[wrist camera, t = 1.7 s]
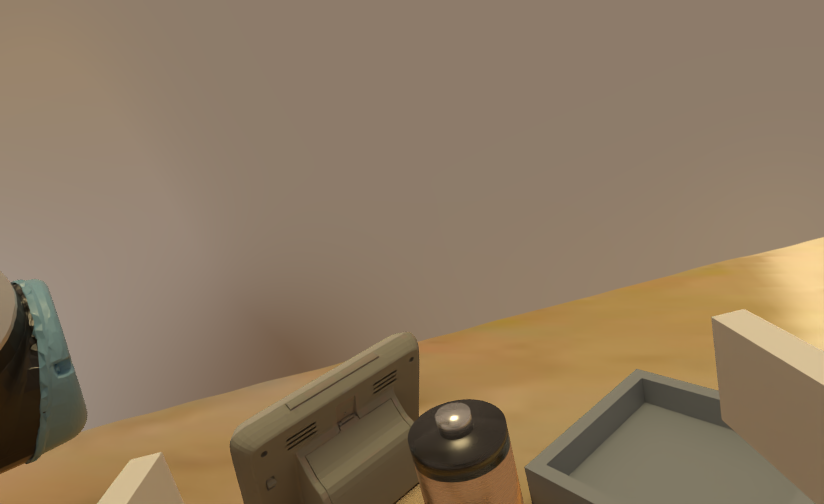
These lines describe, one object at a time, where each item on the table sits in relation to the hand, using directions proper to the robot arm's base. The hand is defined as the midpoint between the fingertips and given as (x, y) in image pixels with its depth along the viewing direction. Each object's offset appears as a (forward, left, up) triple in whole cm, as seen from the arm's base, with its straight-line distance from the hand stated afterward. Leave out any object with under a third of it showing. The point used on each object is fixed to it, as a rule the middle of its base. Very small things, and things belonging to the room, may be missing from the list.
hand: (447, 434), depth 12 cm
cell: (-8, +6, -19) cm, 21 cm away
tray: (-6, +21, -20) cm, 29 cm away
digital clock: (-25, +7, -20) cm, 33 cm away
